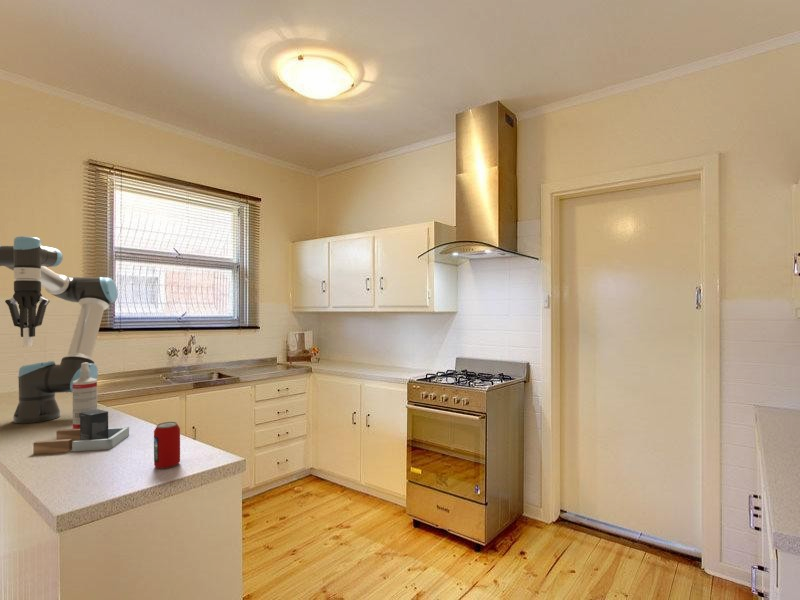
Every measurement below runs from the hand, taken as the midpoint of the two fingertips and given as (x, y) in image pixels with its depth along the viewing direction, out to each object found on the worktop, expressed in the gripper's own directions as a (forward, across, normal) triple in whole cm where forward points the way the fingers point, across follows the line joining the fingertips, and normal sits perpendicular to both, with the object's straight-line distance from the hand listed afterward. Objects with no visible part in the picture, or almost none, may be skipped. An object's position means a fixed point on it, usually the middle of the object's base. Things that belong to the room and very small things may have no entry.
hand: (28, 346), depth 159 cm
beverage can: (+33, +58, -42) cm, 79 cm away
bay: (+32, +30, -14) cm, 46 cm away
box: (+33, +26, -13) cm, 44 cm away
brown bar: (+32, +18, -14) cm, 40 cm away
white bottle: (+33, +15, +7) cm, 37 cm away
